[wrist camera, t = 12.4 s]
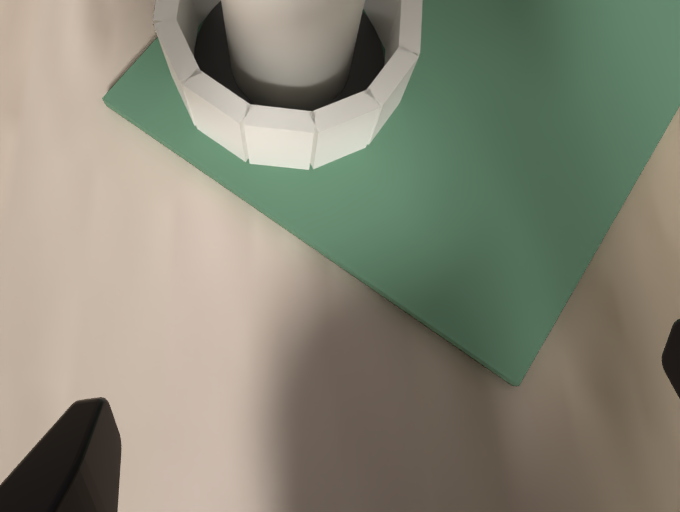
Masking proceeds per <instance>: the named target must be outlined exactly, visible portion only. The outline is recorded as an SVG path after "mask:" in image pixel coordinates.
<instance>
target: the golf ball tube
mask: <svg viewBox="0 0 680 512" xmlns="http://www.w3.org/2000/svg"><path fill="white" fill-rule="evenodd" d="M364 2H365V0H221V4H222V10H223V17H224V23H225V30H226V36H227V43H228V49H229V56H230V62H231V68H232V73H233V76H234V78H235V81H236V83H237V85H238V86H239V88H240V89H241V91H242V92H243V93H244V94H245V95H246V96H247V97H248V98H249V99H250V100H251V101H252V102H253V103H255V104H256V105H261V106H270V107H279V108H287V109H296V110H305V111H314V110H317V109H319V108H322V107H324V106H327V105H328V104H330V103H331V102H332V101H333V100H334V99H335V98H336V97H337V96H338V95H339V94H340V92H341V91H342V90H343V88H344V86H345V84H346V82H347V79H348V75H349V71H350V66H351V62H352V57H353V53H354V48H355V43H356V39H357V34H358V30H359V25H360V20H361V16H362V11H363V7H364Z"/></svg>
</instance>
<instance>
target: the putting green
mask: <svg viewBox="0 0 680 512" xmlns="http://www.w3.org/2000/svg"><path fill="white" fill-rule="evenodd" d="M153 22H154V24H153V25H154V27H155V30H156V33H157V36H158V37H157V38H156V39H155V40H154V42H153V43H152V44H151V45H150V46H149V47H148V48H147V49H146V50H145V52H144V53H143V54H142V55H141V56H140V57H139V58H138V59H137V60H136V62H135V63H134V64H133V65H132V66H131V67H130V68H129V69H128V70H127V71H126V73H125V74H124V75H123V76H122V77H121V78H120V79H119V80H118V81H117V83H116V84H115V85H114V86H113V87H112V88H111V89H110V90H109V91H108V92H107V94H106V95H105V96H104V97H103V98H102V99H103V101H104V103H105V104H106V106H108V107H109V108H111V109H112V110H113V111H115V112H116V113H118V114H119V115H121V116H122V117H124V118H125V119H127V120H128V121H129V122H131V123H132V124H134V125H135V126H137V127H138V128H140V129H141V130H142V131H144V132H145V133H147V134H148V135H150V136H151V137H153V138H154V139H156V140H157V141H158V142H160V143H161V144H163V145H164V146H166V147H167V148H169V149H170V150H171V151H173V152H174V153H176V154H177V155H179V156H180V157H182V158H183V159H185V160H186V161H187V162H189V163H190V164H192V165H193V166H195V167H196V168H198V169H199V170H200V171H202V172H203V173H205V174H206V175H208V176H209V177H211V178H212V179H214V180H215V181H216V182H218V183H219V184H221V185H222V186H224V187H225V188H227V189H228V190H230V191H231V192H232V193H234V194H235V195H237V196H238V197H240V198H241V199H243V200H244V201H245V202H247V203H248V204H250V205H251V206H253V207H254V208H256V209H257V210H259V211H260V212H261V213H263V214H264V215H266V216H267V217H269V218H270V219H272V220H273V221H274V222H276V223H277V224H279V225H280V226H282V227H283V228H285V229H286V230H288V231H289V232H290V233H292V234H293V235H295V236H296V237H298V238H299V239H301V240H302V241H303V242H305V243H306V244H308V245H309V246H311V247H312V248H314V249H315V250H317V251H318V252H319V253H321V254H322V255H324V256H325V257H327V258H328V259H330V260H331V261H332V262H334V263H335V264H337V265H338V266H340V267H341V268H343V269H344V270H346V271H347V272H348V273H350V274H351V275H353V276H354V277H356V278H357V279H359V280H360V281H361V282H363V283H364V284H366V285H367V286H369V287H370V288H372V289H373V290H375V291H376V292H377V293H379V294H380V295H382V296H383V297H385V298H386V299H388V300H389V301H390V302H392V303H393V304H395V305H396V306H398V307H399V308H401V309H402V310H404V311H405V312H406V313H408V314H409V315H411V316H412V317H414V318H415V319H417V320H418V321H420V322H421V323H422V324H424V325H425V326H427V327H428V328H430V329H431V330H433V331H434V332H435V333H437V334H438V335H440V336H441V337H443V338H444V339H446V340H447V341H449V342H450V343H451V344H453V345H454V346H456V347H457V348H459V349H460V350H462V351H463V352H464V353H466V354H467V355H469V356H470V357H472V358H473V359H475V360H476V361H478V362H479V363H480V364H482V365H483V366H485V367H486V368H488V369H489V370H491V371H492V372H493V373H495V374H496V375H498V376H499V377H501V378H502V379H504V380H505V381H507V382H508V383H509V384H511V385H512V386H519V385H520V383H521V381H522V380H523V378H524V376H525V374H526V373H527V371H528V369H529V367H530V366H531V364H532V362H533V360H534V359H535V357H536V355H537V353H538V352H539V350H540V348H541V346H542V345H543V343H544V341H545V340H546V338H547V336H548V334H549V333H550V331H551V329H552V327H553V326H554V324H555V322H556V320H557V319H558V317H559V315H560V313H561V312H562V310H563V308H564V306H565V305H566V303H567V301H568V299H569V298H570V296H571V294H572V292H573V291H574V289H575V287H576V286H577V284H578V282H579V280H580V279H581V277H582V275H583V273H584V272H585V270H586V268H587V266H588V265H589V263H590V261H591V259H592V258H593V256H594V254H595V252H596V251H597V249H598V247H599V245H600V244H601V242H602V240H603V238H604V237H605V235H606V233H607V231H608V230H609V228H610V226H611V225H612V223H613V221H614V219H615V218H616V216H617V214H618V212H619V211H620V209H621V207H622V205H623V204H624V202H625V200H626V198H627V197H628V195H629V193H630V191H631V190H632V188H633V186H634V184H635V183H636V181H637V179H638V177H639V176H640V174H641V172H642V171H643V169H644V167H645V165H646V164H647V162H648V160H649V158H650V157H651V155H652V153H653V151H654V150H655V148H656V146H657V144H658V143H659V141H660V139H661V137H662V136H663V134H664V132H665V130H666V129H667V127H668V125H669V123H670V122H671V120H672V118H673V116H674V115H675V113H676V111H677V110H678V108H679V106H680V0H365V2H364V7H363V11H362V16H361V20H360V25H359V30H358V34H357V39H356V43H355V48H354V53H353V57H352V62H351V66H350V71H349V75H348V79H347V82H346V84H345V86H344V88H343V90H342V91H341V92H340V94H339V95H338V96H337V97H336V98H335V99H334V100H333V101H332V102H331V103H330V104H328V105H327V106H324V107H322V108H319V109H317V110H314V111H305V110H296V109H287V108H279V107H270V106H261V105H256V104H255V103H253V102H252V101H251V100H250V99H249V98H248V97H247V96H246V95H245V94H244V93H243V92H242V91H241V89H240V88H239V86H238V85H237V83H236V81H235V78H234V76H233V73H232V68H231V62H230V56H229V49H228V43H227V36H226V30H225V23H224V17H223V10H222V4H221V0H156V3H155V9H154V15H153Z"/></svg>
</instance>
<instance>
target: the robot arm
mask: <svg viewBox="0 0 680 512" xmlns="http://www.w3.org/2000/svg"><path fill="white" fill-rule="evenodd" d="M662 365H663V369H664V371H665V373H666V375H667V377H668V378H669V380H670V382H671V384H672V386H673V387H674V389H675V391H676V393H677V395H678V396H679V398H680V319H678V320H677V321H676V322H675V323H674V324H673V326H672V329H671V332H670V335H669V337H668V340H667V343H666V346H665V348H664V351H663V354H662ZM120 464H121V438H120V434H119V431H118V428H117V425H116V422H115V419H114V416H113V413H112V410H111V407H110V405H109V402H108V401H107V400H106V399H105V398H102V397H99V398H91V399H84V400H79V401H76V402H75V403H73V404H72V405H71V406H70V407H69V408H68V410H67V411H66V412H65V413H64V414H63V415H62V416H61V417H60V418H59V420H58V421H57V422H56V423H55V424H54V425H53V426H52V427H51V429H50V430H49V431H48V432H47V433H46V434H45V435H44V436H43V438H42V439H41V440H40V441H39V442H38V443H37V444H36V445H35V447H34V448H33V449H32V450H31V451H30V452H29V453H28V454H27V456H26V457H25V458H24V459H23V460H22V461H21V462H20V463H19V464H18V466H17V467H16V468H15V469H14V470H13V471H12V472H11V473H10V475H9V476H8V477H7V478H6V479H5V480H4V481H3V482H2V484H1V485H0V512H117V509H118V494H119V479H120Z"/></svg>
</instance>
